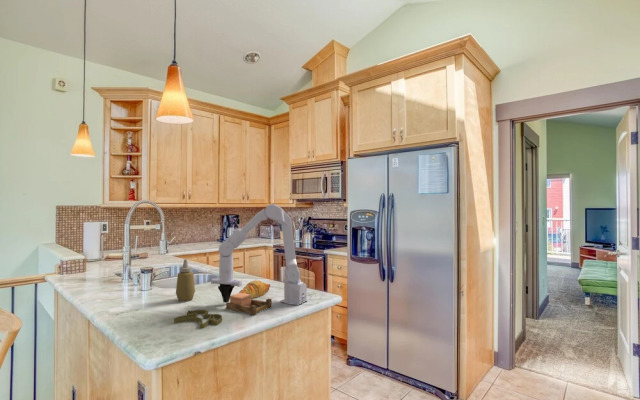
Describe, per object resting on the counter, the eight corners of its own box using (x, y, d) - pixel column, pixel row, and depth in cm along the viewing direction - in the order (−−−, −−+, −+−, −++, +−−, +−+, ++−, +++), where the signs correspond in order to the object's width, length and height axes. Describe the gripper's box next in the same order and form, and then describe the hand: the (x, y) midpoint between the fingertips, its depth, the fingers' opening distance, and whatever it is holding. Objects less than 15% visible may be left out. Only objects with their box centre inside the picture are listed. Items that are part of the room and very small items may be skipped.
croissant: (241, 309, 147) (247, 294, 145) (227, 295, 152) (233, 281, 150) (273, 297, 165) (278, 283, 163) (259, 285, 170) (264, 271, 168)
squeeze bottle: (188, 303, 145) (188, 261, 145) (171, 302, 146) (171, 260, 146) (198, 298, 153) (198, 258, 153) (182, 297, 154) (182, 257, 154)
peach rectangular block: (251, 305, 141) (251, 294, 141) (241, 309, 135) (241, 298, 135) (240, 302, 144) (240, 292, 144) (229, 306, 138) (229, 296, 138)
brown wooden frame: (271, 307, 139) (271, 299, 139) (253, 315, 129) (253, 306, 129) (242, 302, 146) (242, 294, 146) (223, 309, 136) (223, 300, 136)
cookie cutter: (169, 323, 122) (169, 317, 122) (194, 313, 133) (194, 308, 133) (206, 331, 115) (206, 325, 115) (230, 319, 126) (230, 314, 126)
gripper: (246, 269, 144) (246, 301, 144) (218, 267, 150) (218, 297, 150) (236, 272, 138) (236, 305, 138) (207, 270, 143) (207, 302, 143)
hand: (226, 301), depth 143 cm, fingers closed
